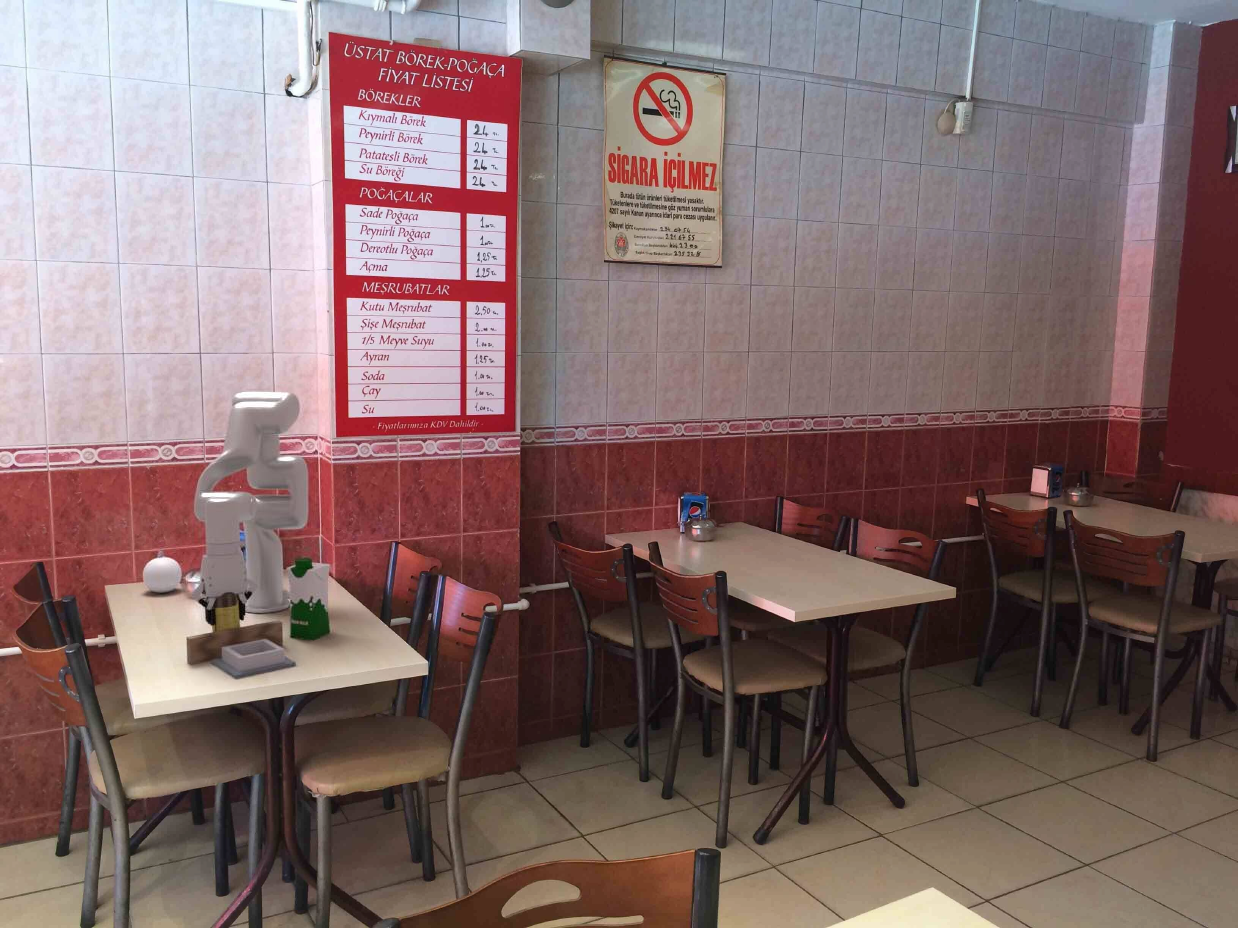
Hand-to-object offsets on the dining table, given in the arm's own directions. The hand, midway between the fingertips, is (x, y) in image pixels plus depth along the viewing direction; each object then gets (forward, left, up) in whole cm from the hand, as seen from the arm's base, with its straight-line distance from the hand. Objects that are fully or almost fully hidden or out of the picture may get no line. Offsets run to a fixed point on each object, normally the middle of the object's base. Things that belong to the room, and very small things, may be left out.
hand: (225, 620), depth 240 cm
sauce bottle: (0, 0, -7) cm, 7 cm away
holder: (0, +16, -7) cm, 17 cm away
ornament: (-6, -64, -7) cm, 65 cm away
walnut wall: (0, +6, -7) cm, 9 cm away
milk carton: (-20, +3, -7) cm, 21 cm away
